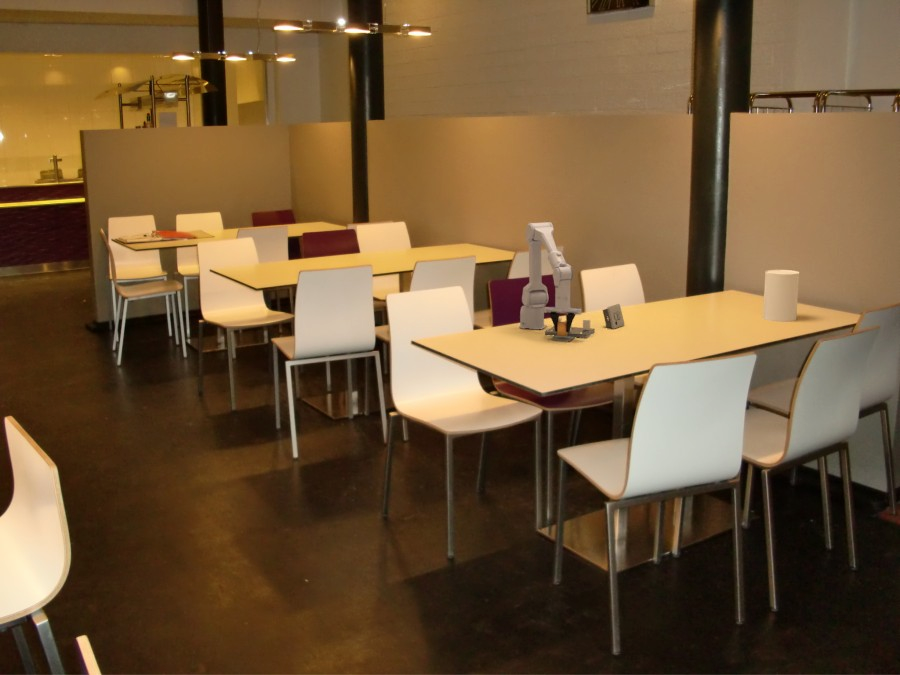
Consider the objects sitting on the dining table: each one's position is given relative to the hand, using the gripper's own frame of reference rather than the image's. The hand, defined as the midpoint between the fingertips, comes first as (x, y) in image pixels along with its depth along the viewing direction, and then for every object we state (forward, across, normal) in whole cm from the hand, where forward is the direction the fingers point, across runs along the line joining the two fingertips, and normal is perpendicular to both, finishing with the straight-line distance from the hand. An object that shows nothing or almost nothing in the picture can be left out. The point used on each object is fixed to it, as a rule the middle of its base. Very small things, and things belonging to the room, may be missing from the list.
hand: (562, 331), depth 357 cm
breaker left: (+1, -6, +13) cm, 15 cm away
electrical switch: (+3, +13, +30) cm, 32 cm away
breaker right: (+1, +6, +13) cm, 15 cm away
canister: (+3, +75, +70) cm, 102 cm away
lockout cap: (+1, 0, 0) cm, 1 cm away
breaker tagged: (+1, 0, +7) cm, 8 cm away
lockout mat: (+3, 0, 0) cm, 3 cm away
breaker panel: (+3, 0, +10) cm, 11 cm away
